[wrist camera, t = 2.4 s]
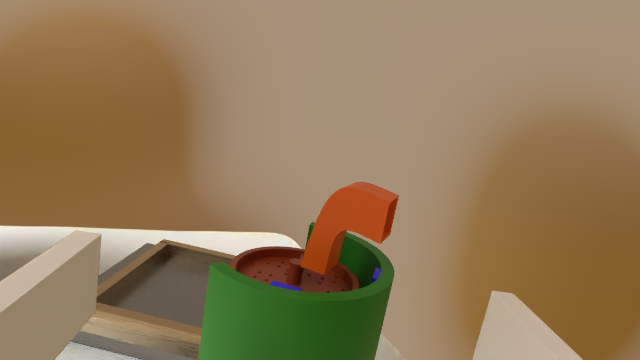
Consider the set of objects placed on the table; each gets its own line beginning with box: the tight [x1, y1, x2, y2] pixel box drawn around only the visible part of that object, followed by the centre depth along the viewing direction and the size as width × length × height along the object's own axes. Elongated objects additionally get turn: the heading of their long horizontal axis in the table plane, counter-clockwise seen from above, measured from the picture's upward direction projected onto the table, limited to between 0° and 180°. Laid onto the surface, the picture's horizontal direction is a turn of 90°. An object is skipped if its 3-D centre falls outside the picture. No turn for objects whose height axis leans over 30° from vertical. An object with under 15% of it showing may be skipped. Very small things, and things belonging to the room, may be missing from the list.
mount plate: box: [71, 239, 236, 360], centre depth 42 cm, size 20×18×3 cm
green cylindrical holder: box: [198, 182, 399, 360], centre depth 23 cm, size 10×9×20 cm
